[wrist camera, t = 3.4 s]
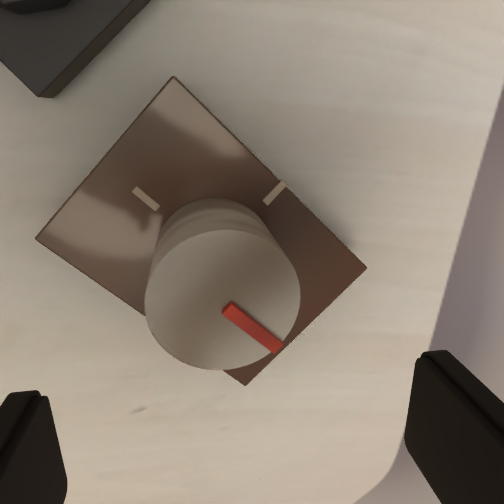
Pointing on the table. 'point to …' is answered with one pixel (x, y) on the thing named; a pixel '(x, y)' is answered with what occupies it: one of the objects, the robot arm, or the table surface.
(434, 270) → the table surface
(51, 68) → the button box
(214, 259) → the pointer wheel
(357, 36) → the table surface
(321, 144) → the table surface
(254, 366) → the dial panel
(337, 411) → the table surface
